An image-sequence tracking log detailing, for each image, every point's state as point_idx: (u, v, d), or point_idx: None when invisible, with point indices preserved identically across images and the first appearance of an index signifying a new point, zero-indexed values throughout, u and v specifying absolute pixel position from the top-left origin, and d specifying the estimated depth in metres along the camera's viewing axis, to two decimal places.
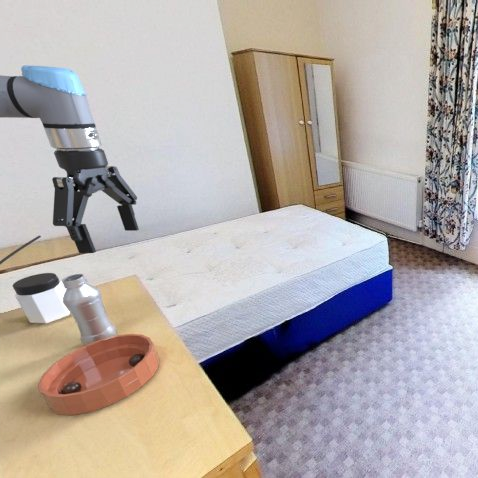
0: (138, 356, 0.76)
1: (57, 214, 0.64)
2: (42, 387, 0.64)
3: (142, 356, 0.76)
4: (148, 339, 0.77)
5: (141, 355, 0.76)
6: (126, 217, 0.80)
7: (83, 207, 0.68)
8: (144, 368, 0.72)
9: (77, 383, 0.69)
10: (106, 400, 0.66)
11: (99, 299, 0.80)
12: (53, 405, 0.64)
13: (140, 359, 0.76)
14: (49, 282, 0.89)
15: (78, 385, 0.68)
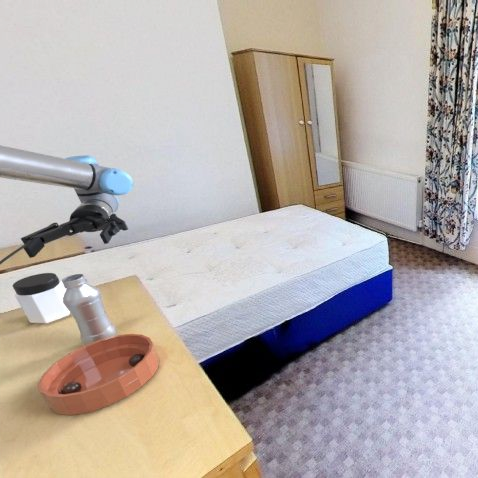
0: (138, 356, 0.76)
1: None
2: (42, 387, 0.64)
3: (142, 356, 0.76)
4: (148, 339, 0.77)
5: (141, 355, 0.76)
6: (37, 245, 0.79)
7: None
8: (144, 368, 0.72)
9: (77, 383, 0.69)
10: (106, 400, 0.66)
11: (99, 299, 0.80)
12: (53, 405, 0.64)
13: (140, 359, 0.76)
14: (49, 282, 0.89)
15: (78, 385, 0.68)
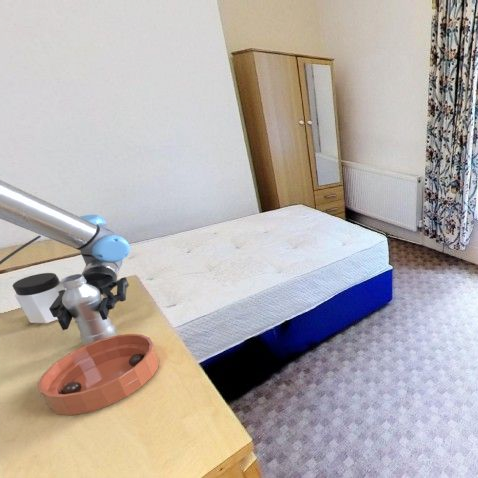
0: (138, 356, 0.76)
1: (123, 291, 0.86)
2: (42, 387, 0.64)
3: (142, 356, 0.76)
4: (148, 339, 0.77)
5: (141, 355, 0.76)
6: (68, 316, 0.77)
7: None
8: (144, 368, 0.72)
9: (77, 383, 0.69)
10: (106, 400, 0.66)
11: (99, 299, 0.80)
12: (53, 405, 0.64)
13: (140, 359, 0.76)
14: (49, 282, 0.89)
15: (78, 385, 0.68)
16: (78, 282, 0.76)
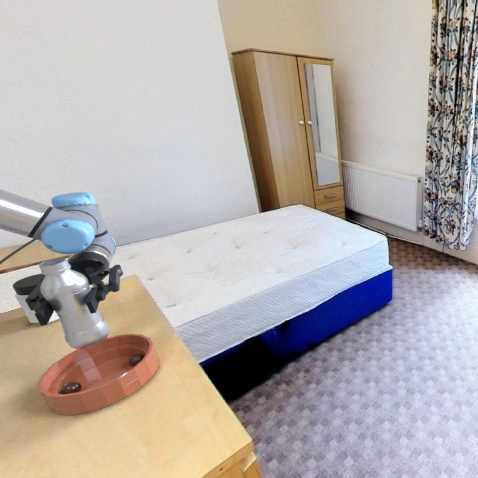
0: (138, 356, 0.76)
1: (117, 280, 0.72)
2: (42, 387, 0.64)
3: (142, 356, 0.76)
4: (148, 339, 0.77)
5: (141, 355, 0.76)
6: (48, 308, 0.63)
7: None
8: (144, 368, 0.72)
9: (77, 383, 0.69)
10: (106, 400, 0.66)
11: (87, 289, 0.66)
12: (53, 405, 0.64)
13: (140, 359, 0.76)
14: None
15: (78, 385, 0.68)
16: (60, 267, 0.62)
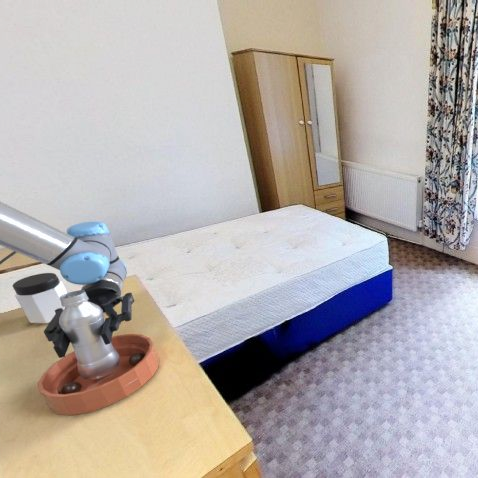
0: (137, 354, 0.76)
1: (129, 309, 0.76)
2: (42, 387, 0.64)
3: (142, 354, 0.77)
4: (148, 339, 0.77)
5: (141, 353, 0.77)
6: (66, 340, 0.66)
7: None
8: (144, 368, 0.72)
9: (77, 383, 0.69)
10: (106, 400, 0.66)
11: (101, 320, 0.69)
12: (53, 405, 0.64)
13: (139, 357, 0.76)
14: (49, 282, 0.89)
15: (78, 385, 0.68)
16: (78, 299, 0.66)
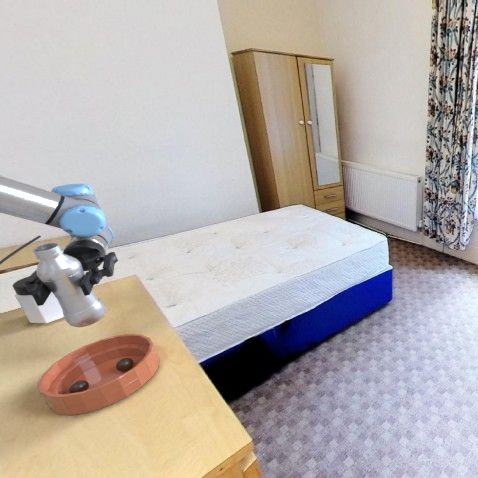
0: (116, 366, 0.73)
1: (111, 266, 0.77)
2: (42, 387, 0.64)
3: (118, 363, 0.74)
4: (148, 339, 0.77)
5: (117, 363, 0.74)
6: (45, 290, 0.67)
7: None
8: (144, 368, 0.72)
9: (88, 386, 0.69)
10: (106, 400, 0.66)
11: (80, 272, 0.70)
12: (53, 405, 0.64)
13: (119, 367, 0.73)
14: None
15: (87, 388, 0.69)
16: (53, 252, 0.66)
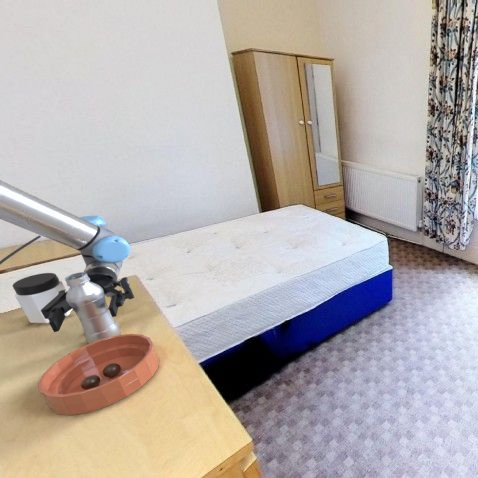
0: None
1: (130, 289, 0.87)
2: (42, 387, 0.64)
3: (106, 376, 0.72)
4: (148, 339, 0.77)
5: None
6: (60, 317, 0.76)
7: None
8: (144, 368, 0.72)
9: None
10: (106, 400, 0.66)
11: (102, 297, 0.80)
12: (53, 405, 0.64)
13: None
14: (49, 282, 0.89)
15: None
16: (81, 280, 0.76)
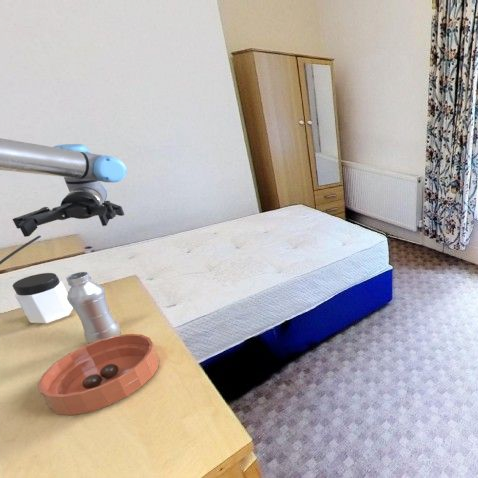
0: None
1: None
2: (42, 387, 0.64)
3: None
4: (148, 339, 0.77)
5: None
6: (31, 225, 0.78)
7: None
8: (144, 368, 0.72)
9: None
10: (106, 400, 0.66)
11: (103, 297, 0.81)
12: (53, 405, 0.64)
13: (109, 377, 0.72)
14: (49, 282, 0.89)
15: None
16: (83, 280, 0.77)
